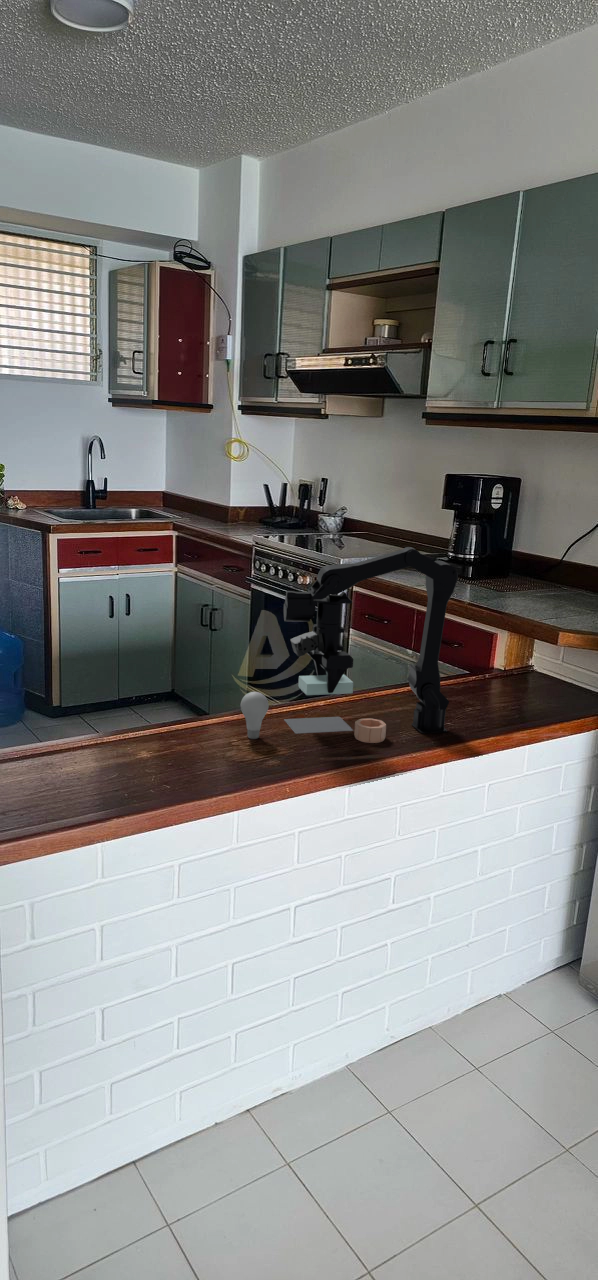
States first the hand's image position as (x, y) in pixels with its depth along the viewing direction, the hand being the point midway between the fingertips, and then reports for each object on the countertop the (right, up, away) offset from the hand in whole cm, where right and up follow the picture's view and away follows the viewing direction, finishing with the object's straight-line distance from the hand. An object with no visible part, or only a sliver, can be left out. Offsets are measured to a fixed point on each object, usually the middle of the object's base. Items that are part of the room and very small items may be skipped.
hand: (325, 688), depth 200 cm
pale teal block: (0, 0, 0) cm, 0 cm away
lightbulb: (-16, -11, -8) cm, 21 cm away
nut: (+10, -11, -4) cm, 16 cm away
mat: (-2, -9, +3) cm, 10 cm away
